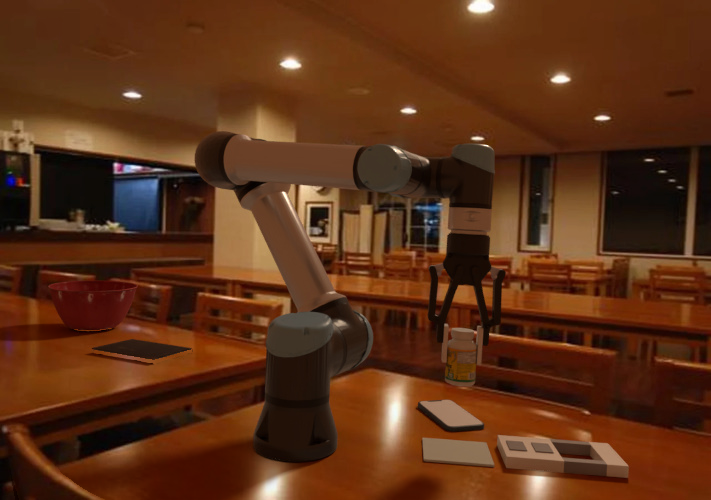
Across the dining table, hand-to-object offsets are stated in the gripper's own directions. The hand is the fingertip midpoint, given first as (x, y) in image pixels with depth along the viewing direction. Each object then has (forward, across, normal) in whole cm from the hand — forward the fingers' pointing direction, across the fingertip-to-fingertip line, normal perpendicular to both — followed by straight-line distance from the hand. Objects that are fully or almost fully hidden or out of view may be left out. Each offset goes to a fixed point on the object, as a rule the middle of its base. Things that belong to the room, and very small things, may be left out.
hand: (460, 361), depth 101 cm
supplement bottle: (+4, 0, 0) cm, 4 cm away
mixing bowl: (+18, -118, +86) cm, 147 cm away
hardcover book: (+18, -86, +56) cm, 104 cm away
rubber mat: (+17, 0, 0) cm, 17 cm away
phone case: (+17, 0, +19) cm, 26 cm away
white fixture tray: (+16, +18, 0) cm, 25 cm away
